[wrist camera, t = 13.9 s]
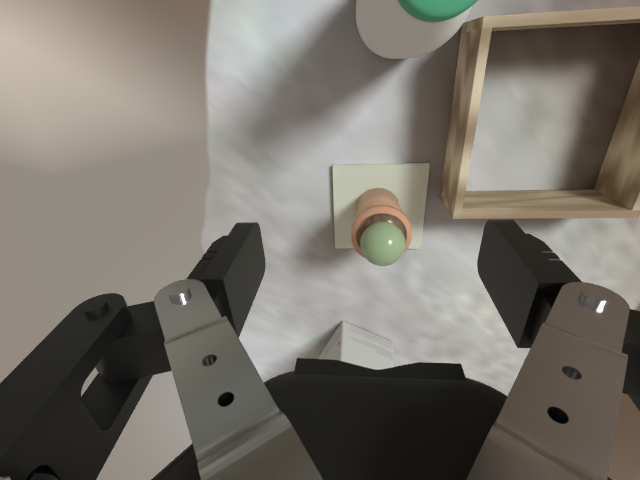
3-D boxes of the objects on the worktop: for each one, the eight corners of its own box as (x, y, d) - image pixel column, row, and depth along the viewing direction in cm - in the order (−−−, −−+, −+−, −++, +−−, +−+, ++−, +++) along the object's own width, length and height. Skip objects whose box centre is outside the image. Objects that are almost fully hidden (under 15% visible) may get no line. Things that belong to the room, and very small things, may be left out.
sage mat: (332, 164, 39) (332, 166, 39) (429, 162, 38) (429, 163, 38) (335, 246, 45) (334, 248, 44) (420, 246, 43) (420, 248, 43)
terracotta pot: (351, 185, 40) (350, 225, 30) (404, 184, 39) (421, 224, 30) (351, 231, 43) (350, 282, 33) (401, 231, 42) (415, 282, 32)
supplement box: (342, 318, 50) (337, 410, 37) (394, 341, 52) (407, 437, 38) (316, 355, 55) (304, 450, 41) (364, 376, 56) (368, 473, 43)
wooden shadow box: (462, 23, 32) (483, 16, 27) (666, 10, 30) (732, 0, 25) (439, 197, 40) (452, 218, 35) (598, 196, 38) (637, 217, 33)
